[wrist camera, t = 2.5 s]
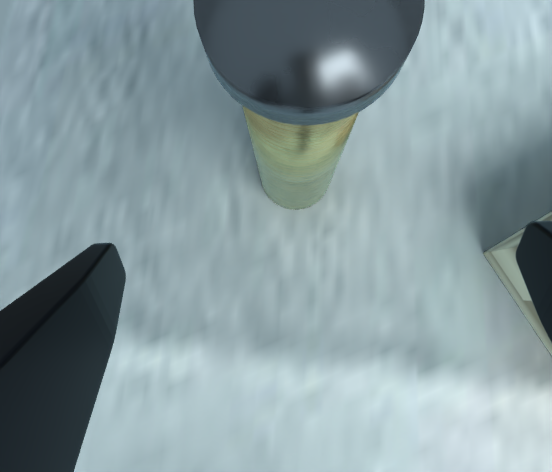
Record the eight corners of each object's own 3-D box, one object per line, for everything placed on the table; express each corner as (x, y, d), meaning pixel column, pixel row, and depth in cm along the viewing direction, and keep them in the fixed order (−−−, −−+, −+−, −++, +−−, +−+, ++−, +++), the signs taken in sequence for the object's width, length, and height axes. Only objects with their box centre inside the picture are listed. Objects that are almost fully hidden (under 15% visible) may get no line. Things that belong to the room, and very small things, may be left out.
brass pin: (280, 235, 21) (267, 150, 8) (235, 161, 21) (153, -36, 8) (356, 190, 21) (470, 32, 8) (310, 117, 21) (345, -144, 8)
